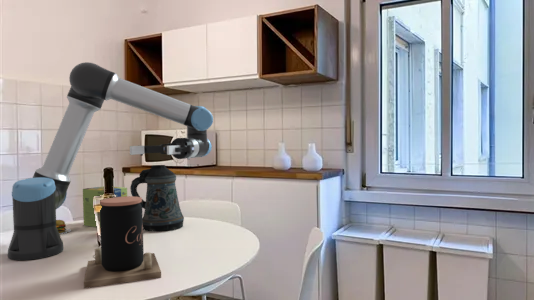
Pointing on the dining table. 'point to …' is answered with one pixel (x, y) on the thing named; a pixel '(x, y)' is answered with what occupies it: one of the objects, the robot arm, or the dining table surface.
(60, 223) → the hamburger
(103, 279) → the pegged base plate
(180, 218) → the beer stein
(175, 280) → the dining table surface
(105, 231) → the coffee jar
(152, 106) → the robot arm
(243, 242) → the dining table surface
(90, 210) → the protein box
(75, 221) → the dining table surface
